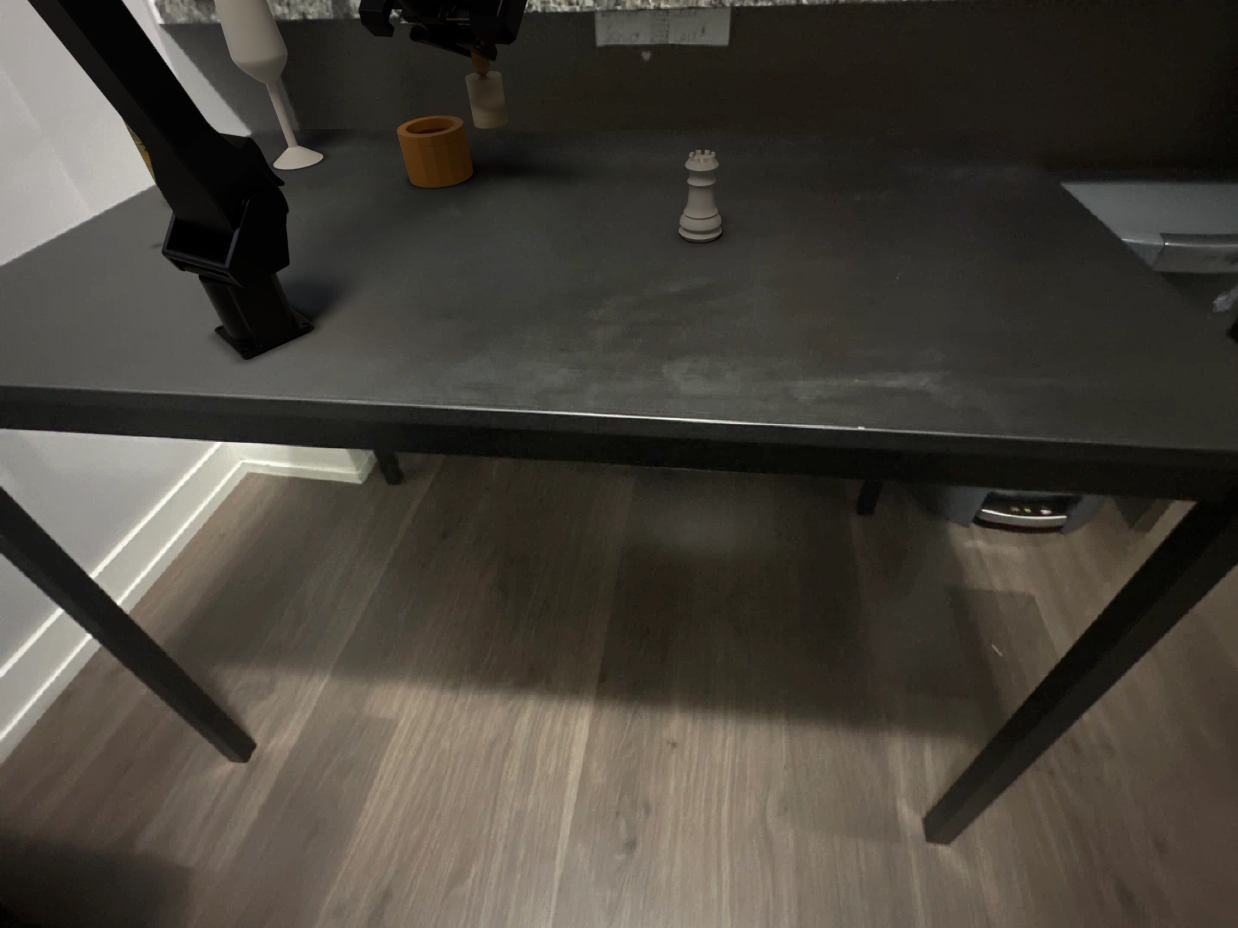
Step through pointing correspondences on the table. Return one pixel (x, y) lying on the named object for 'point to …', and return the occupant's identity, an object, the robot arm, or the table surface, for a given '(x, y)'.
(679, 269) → the table surface
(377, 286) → the table surface
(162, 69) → the robot arm
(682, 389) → the table surface
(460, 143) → the orange cylindrical pot
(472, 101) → the brush
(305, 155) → the champagne flute
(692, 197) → the rook chess piece
